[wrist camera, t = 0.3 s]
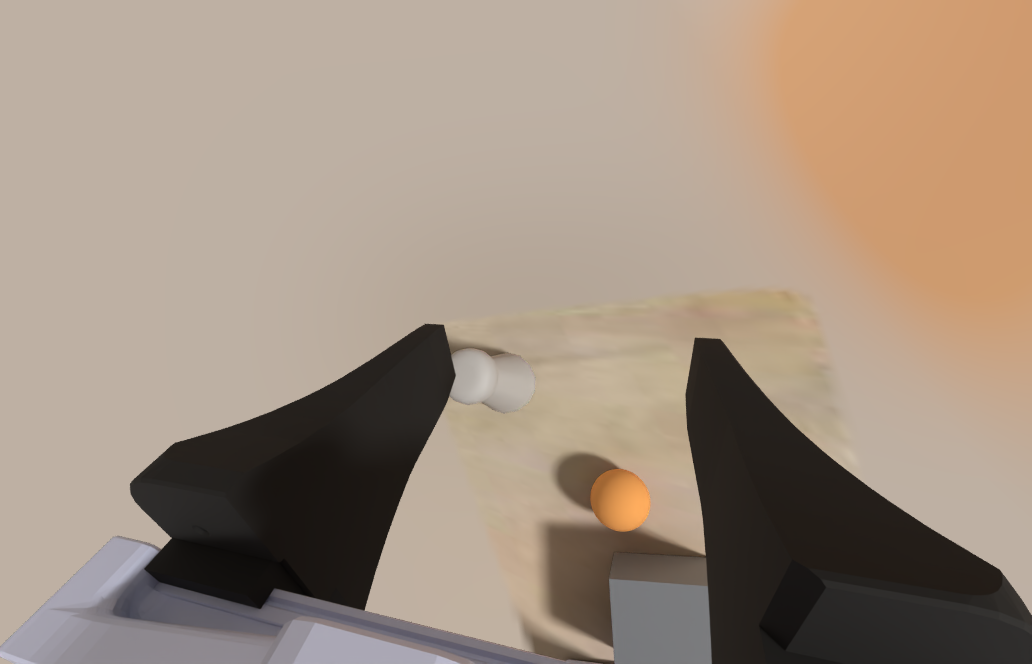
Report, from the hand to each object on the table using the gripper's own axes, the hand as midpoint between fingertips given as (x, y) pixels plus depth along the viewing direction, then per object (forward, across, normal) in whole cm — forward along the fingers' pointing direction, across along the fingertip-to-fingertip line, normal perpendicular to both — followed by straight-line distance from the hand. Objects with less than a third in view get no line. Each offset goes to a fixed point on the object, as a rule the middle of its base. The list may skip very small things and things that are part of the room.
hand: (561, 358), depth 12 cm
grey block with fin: (+9, -9, +33) cm, 35 cm away
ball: (+13, -2, +26) cm, 29 cm away
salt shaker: (+22, +9, +21) cm, 32 cm away
